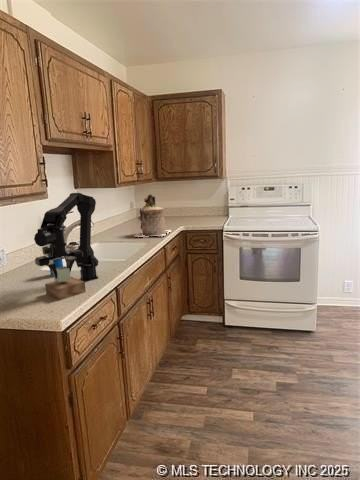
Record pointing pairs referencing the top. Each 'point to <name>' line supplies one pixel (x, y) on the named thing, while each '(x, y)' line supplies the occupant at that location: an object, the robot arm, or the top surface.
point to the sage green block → (63, 274)
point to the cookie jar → (152, 219)
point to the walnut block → (65, 288)
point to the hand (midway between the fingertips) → (62, 276)
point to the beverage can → (57, 264)
